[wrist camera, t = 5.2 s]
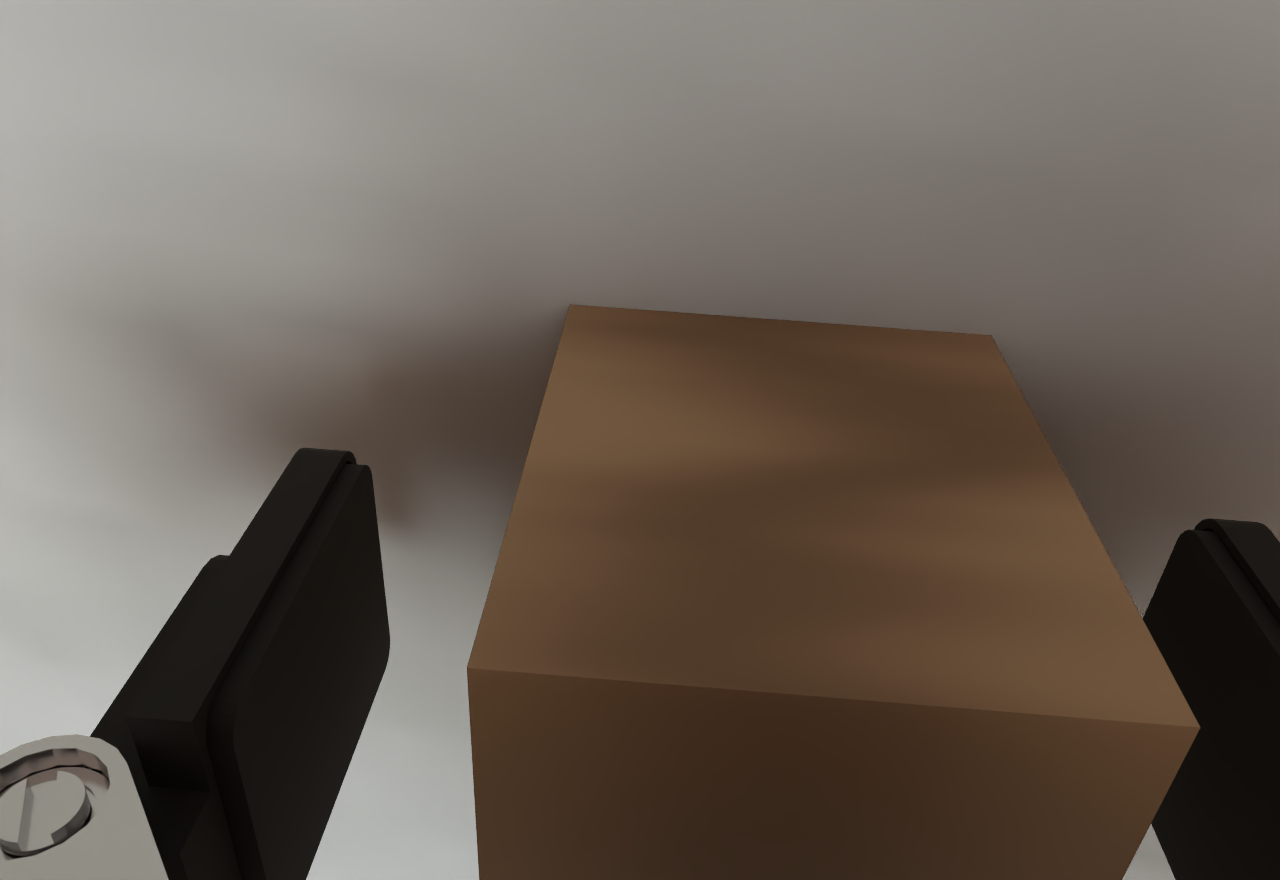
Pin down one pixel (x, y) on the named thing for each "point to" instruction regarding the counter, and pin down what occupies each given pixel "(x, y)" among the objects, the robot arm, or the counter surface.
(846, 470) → the walnut block
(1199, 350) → the counter surface
